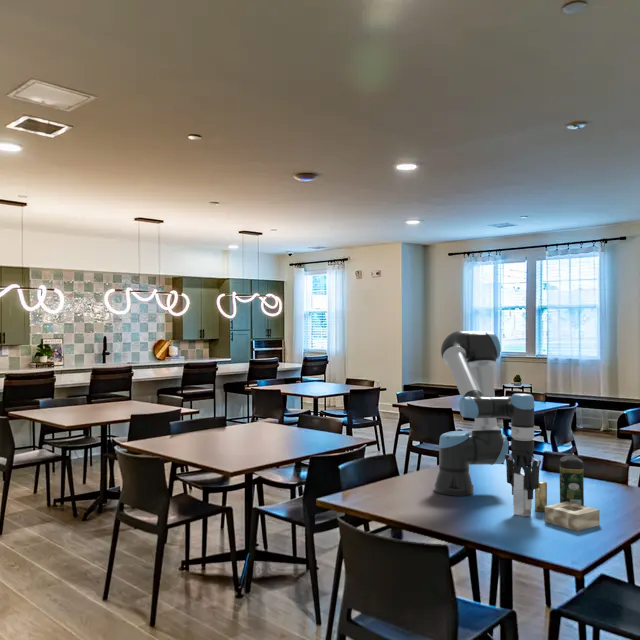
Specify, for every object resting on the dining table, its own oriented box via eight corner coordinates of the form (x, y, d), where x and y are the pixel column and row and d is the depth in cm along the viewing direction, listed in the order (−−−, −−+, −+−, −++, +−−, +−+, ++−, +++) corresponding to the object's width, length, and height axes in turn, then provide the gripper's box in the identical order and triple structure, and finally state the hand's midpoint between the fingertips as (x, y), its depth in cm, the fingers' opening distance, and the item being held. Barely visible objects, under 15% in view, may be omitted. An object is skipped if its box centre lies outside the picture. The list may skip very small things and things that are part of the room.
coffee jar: (558, 504, 226) (558, 453, 227) (581, 506, 224) (581, 454, 225) (561, 511, 217) (561, 458, 218) (585, 513, 215) (585, 459, 216)
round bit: (532, 510, 218) (532, 481, 218) (539, 508, 220) (539, 480, 221) (542, 513, 215) (542, 484, 215) (549, 511, 217) (549, 482, 217)
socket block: (544, 521, 204) (544, 506, 205) (566, 516, 211) (566, 501, 211) (577, 531, 194) (577, 515, 195) (599, 525, 201) (599, 509, 201)
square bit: (513, 514, 213) (513, 473, 213) (521, 512, 215) (521, 471, 215) (523, 516, 209) (523, 475, 210) (530, 515, 211) (531, 474, 212)
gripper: (495, 436, 218) (495, 502, 217) (536, 443, 204) (536, 514, 203) (509, 434, 222) (509, 499, 221) (550, 441, 208) (550, 511, 207)
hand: (522, 506), depth 212 cm, fingers closed on square bit, 4 cm apart
